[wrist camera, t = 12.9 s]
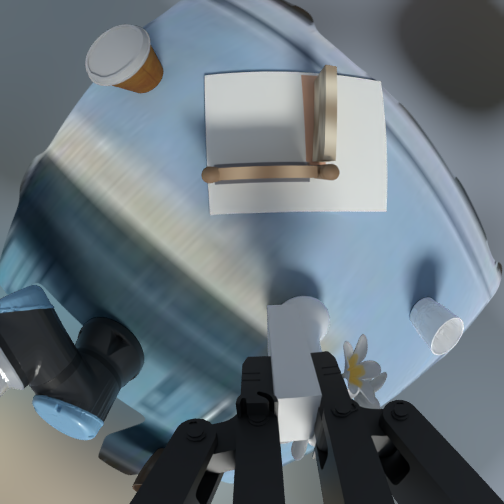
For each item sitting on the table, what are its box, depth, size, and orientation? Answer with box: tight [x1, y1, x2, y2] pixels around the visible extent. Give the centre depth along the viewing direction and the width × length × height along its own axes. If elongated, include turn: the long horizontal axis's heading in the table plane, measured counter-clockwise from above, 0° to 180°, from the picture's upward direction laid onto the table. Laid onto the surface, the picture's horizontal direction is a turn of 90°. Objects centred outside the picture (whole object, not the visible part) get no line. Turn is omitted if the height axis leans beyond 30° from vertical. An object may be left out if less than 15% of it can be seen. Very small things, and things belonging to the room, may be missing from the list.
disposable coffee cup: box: [85, 24, 163, 93], centre depth 29 cm, size 10×10×12 cm
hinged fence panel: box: [312, 65, 337, 162], centre depth 32 cm, size 13×2×7 cm, turn 178°
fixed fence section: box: [202, 164, 340, 183], centre depth 34 cm, size 16×2×8 cm, turn 92°
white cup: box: [410, 297, 464, 355], centre depth 41 cm, size 8×8×10 cm
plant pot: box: [132, 448, 165, 492], centre depth 53 cm, size 15×15×16 cm
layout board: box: [205, 72, 387, 215], centre depth 37 cm, size 28×22×1 cm
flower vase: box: [280, 296, 387, 460], centre depth 34 cm, size 13×18×25 cm
